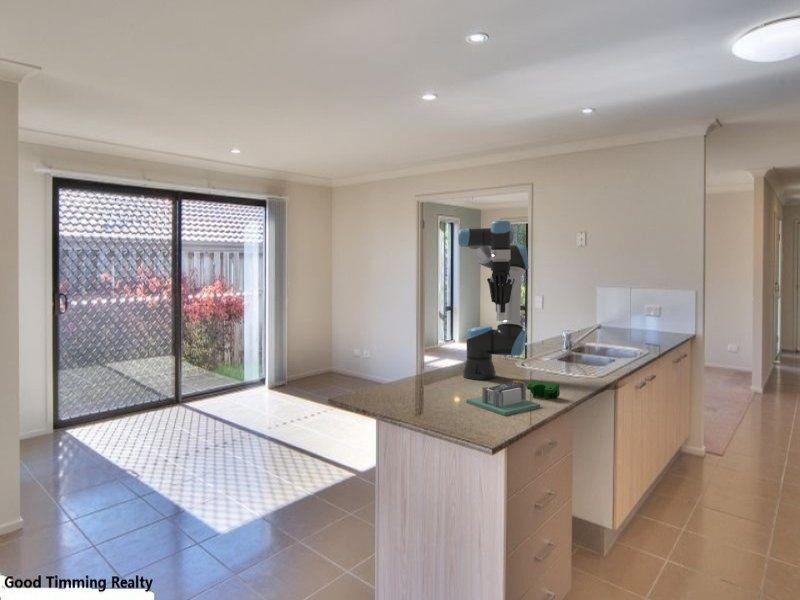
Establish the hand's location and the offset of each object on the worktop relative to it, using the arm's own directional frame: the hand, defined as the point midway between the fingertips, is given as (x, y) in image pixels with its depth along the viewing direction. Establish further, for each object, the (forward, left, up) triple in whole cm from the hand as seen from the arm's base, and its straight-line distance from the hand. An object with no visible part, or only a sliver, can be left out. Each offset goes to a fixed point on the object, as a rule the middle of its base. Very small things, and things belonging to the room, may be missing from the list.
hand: (500, 320), depth 198 cm
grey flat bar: (+7, +11, -24) cm, 27 cm away
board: (+9, +11, -30) cm, 33 cm away
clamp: (-12, +12, -30) cm, 34 cm away
